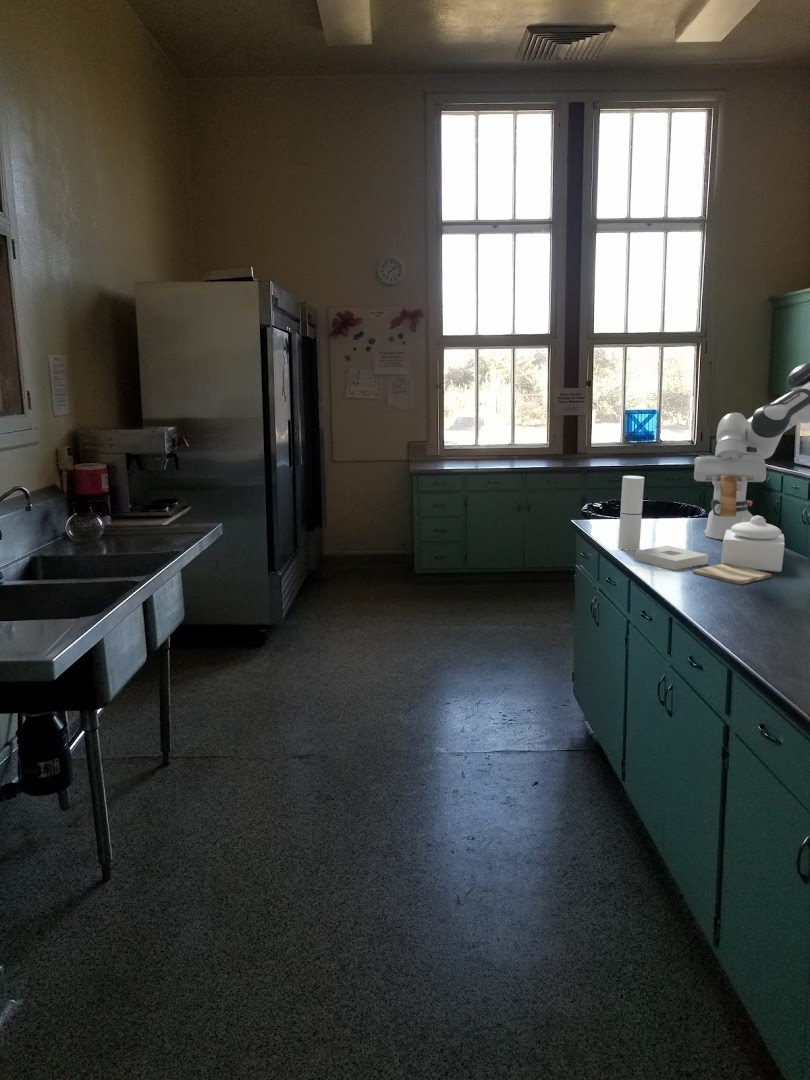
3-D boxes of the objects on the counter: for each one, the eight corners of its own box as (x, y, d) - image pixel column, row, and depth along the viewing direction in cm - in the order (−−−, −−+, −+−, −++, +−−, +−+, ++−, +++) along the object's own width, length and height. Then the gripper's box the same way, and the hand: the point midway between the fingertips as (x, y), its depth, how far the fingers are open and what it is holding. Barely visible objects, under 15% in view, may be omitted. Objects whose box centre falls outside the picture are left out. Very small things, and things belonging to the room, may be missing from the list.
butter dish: (720, 566, 252) (725, 517, 248) (723, 554, 268) (728, 508, 264) (781, 572, 245) (786, 522, 241) (780, 560, 261) (786, 512, 257)
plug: (722, 515, 240) (723, 475, 239) (737, 515, 237) (738, 475, 236) (718, 516, 237) (718, 476, 235) (733, 516, 234) (734, 476, 233)
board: (724, 566, 251) (725, 563, 251) (771, 577, 238) (771, 574, 238) (692, 572, 243) (692, 569, 243) (738, 584, 230) (739, 581, 229)
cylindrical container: (628, 551, 271) (633, 479, 266) (613, 547, 277) (618, 476, 272) (643, 549, 274) (648, 477, 269) (629, 545, 281) (633, 475, 275)
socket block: (666, 554, 267) (667, 545, 267) (707, 563, 254) (708, 554, 254) (634, 560, 259) (635, 551, 258) (674, 570, 246) (675, 560, 245)
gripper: (694, 449, 245) (691, 482, 237) (766, 448, 237) (766, 483, 229) (694, 462, 250) (691, 496, 242) (765, 463, 242) (765, 497, 234)
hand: (728, 490), depth 236 cm, fingers closed on plug, 4 cm apart
